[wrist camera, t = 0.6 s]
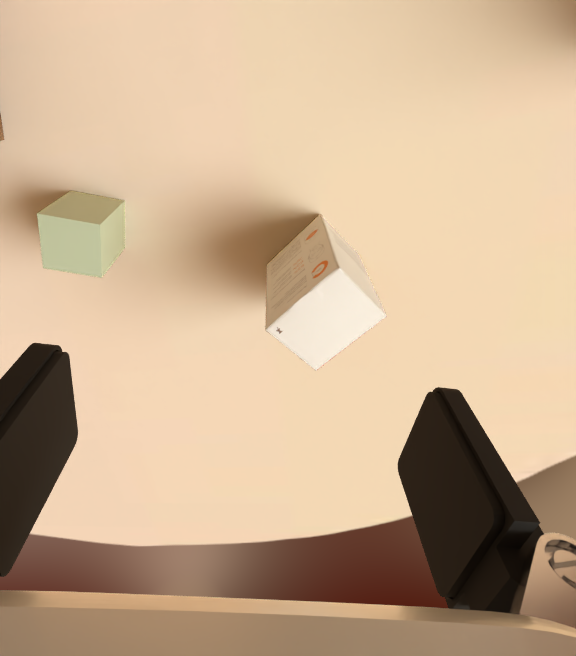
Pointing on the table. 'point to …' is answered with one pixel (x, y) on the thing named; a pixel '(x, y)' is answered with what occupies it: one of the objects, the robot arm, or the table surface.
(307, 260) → the small box
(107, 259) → the sage block
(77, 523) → the table surface
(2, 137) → the walnut base
